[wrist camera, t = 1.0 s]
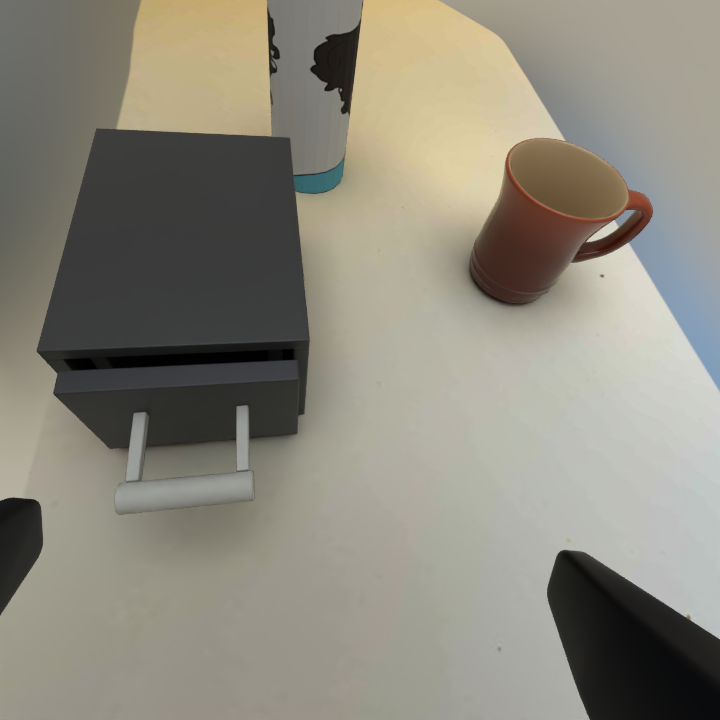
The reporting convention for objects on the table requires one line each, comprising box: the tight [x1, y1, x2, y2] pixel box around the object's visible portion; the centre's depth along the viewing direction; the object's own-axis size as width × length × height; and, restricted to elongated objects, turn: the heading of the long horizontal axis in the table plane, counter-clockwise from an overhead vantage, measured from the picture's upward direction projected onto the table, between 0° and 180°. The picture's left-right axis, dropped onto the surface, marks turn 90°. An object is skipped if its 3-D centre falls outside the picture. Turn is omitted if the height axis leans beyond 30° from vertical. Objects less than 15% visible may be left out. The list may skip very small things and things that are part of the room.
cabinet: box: [37, 129, 310, 414], centre depth 28 cm, size 17×12×9 cm
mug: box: [470, 138, 653, 303], centre depth 34 cm, size 12×9×10 cm
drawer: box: [53, 349, 299, 515], centre depth 26 cm, size 20×11×7 cm, turn 8°
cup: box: [267, 0, 363, 193], centre depth 36 cm, size 7×7×15 cm
